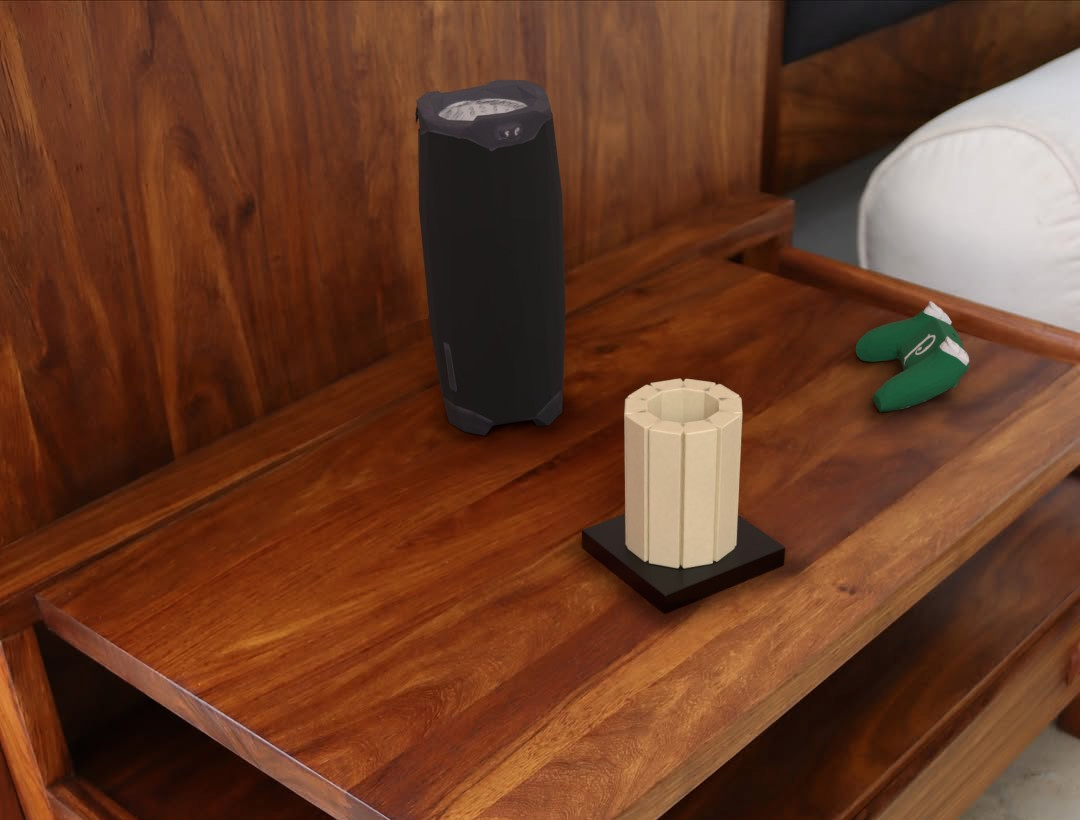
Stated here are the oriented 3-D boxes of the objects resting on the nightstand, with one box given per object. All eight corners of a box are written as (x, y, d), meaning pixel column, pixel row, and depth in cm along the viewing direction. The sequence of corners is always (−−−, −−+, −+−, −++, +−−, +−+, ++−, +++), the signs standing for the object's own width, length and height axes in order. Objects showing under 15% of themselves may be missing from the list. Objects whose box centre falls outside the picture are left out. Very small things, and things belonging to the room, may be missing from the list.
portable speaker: (536, 368, 100) (522, 66, 87) (592, 426, 93) (586, 107, 81) (418, 395, 97) (387, 87, 85) (467, 455, 91) (441, 131, 78)
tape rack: (696, 504, 85) (699, 391, 80) (784, 565, 79) (792, 447, 75) (581, 547, 82) (578, 432, 77) (664, 614, 76) (665, 494, 72)
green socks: (907, 442, 93) (985, 379, 90) (870, 404, 91) (947, 339, 89) (884, 378, 100) (955, 318, 97) (848, 342, 99) (919, 280, 96)
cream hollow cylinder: (691, 498, 83) (694, 368, 78) (759, 545, 79) (767, 411, 74) (603, 530, 81) (601, 399, 76) (669, 581, 77) (670, 445, 72)
